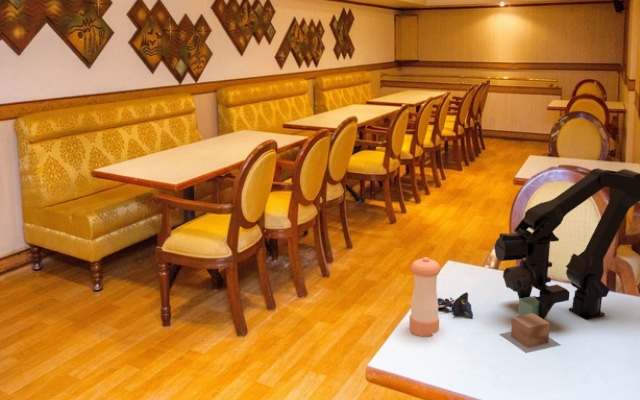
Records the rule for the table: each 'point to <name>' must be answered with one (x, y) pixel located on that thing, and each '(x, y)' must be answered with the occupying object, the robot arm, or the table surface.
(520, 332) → the walnut block
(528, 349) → the mat
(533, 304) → the green cube
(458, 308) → the toy
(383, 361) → the table surface
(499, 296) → the table surface
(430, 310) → the pepper shaker
